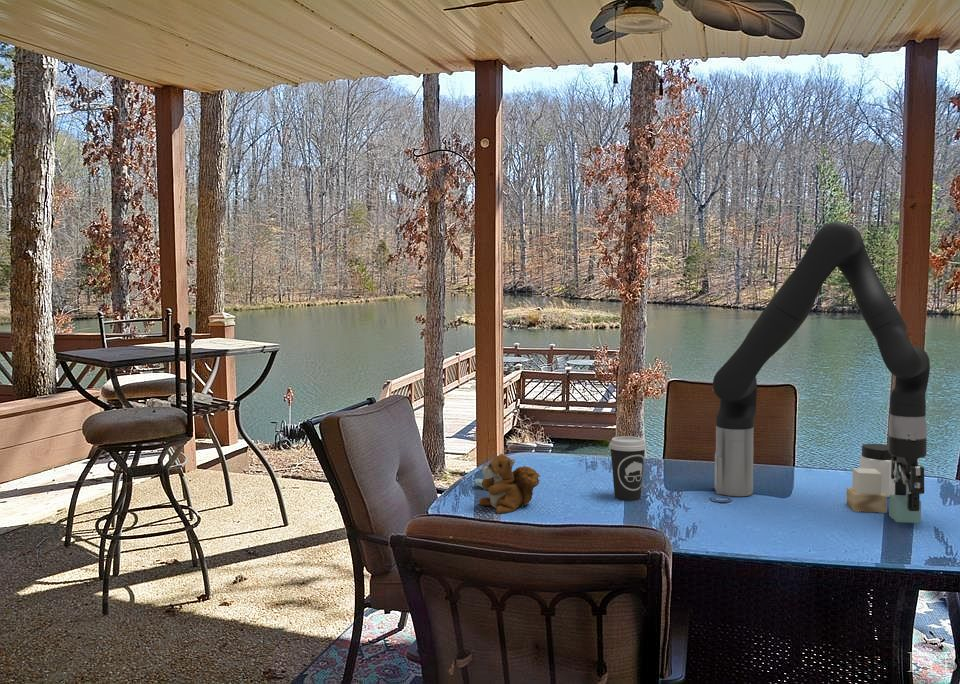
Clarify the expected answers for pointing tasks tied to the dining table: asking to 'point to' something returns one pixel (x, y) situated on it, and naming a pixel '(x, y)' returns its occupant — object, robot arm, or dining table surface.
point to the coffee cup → (627, 466)
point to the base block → (866, 502)
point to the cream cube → (866, 481)
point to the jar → (879, 464)
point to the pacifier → (486, 476)
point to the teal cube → (903, 510)
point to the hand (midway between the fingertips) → (906, 505)
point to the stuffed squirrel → (508, 485)
